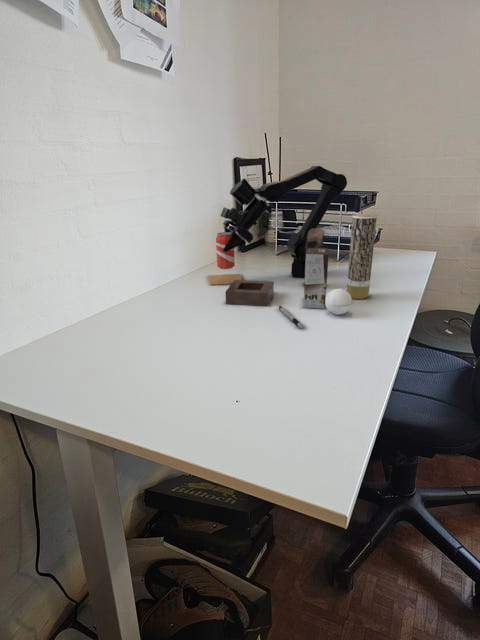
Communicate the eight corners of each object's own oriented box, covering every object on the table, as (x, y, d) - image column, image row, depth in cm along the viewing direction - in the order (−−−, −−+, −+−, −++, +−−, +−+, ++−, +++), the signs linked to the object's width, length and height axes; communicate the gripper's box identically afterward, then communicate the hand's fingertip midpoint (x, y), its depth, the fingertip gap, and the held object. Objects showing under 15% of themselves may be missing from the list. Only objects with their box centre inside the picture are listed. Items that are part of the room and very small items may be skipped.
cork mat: (239, 274, 154) (239, 273, 154) (244, 283, 143) (244, 282, 143) (208, 276, 152) (208, 275, 152) (210, 285, 141) (210, 284, 141)
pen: (282, 309, 117) (282, 305, 116) (305, 330, 102) (305, 325, 101) (278, 309, 116) (278, 305, 116) (300, 330, 102) (300, 326, 101)
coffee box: (325, 309, 116) (328, 254, 110) (302, 308, 117) (305, 253, 111) (325, 299, 124) (328, 247, 119) (304, 298, 126) (306, 247, 120)
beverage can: (237, 268, 139) (236, 233, 135) (219, 270, 138) (217, 235, 133) (232, 264, 145) (230, 231, 140) (215, 266, 143) (213, 232, 138)
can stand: (273, 293, 131) (273, 281, 130) (268, 306, 119) (268, 293, 118) (235, 291, 134) (234, 279, 132) (225, 304, 122) (225, 291, 121)
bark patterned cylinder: (368, 294, 128) (377, 214, 119) (367, 300, 122) (376, 217, 113) (347, 292, 131) (353, 213, 121) (345, 298, 125) (351, 216, 115)
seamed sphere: (324, 318, 109) (326, 292, 107) (323, 309, 116) (325, 284, 114) (362, 319, 108) (365, 293, 105) (359, 310, 115) (361, 285, 112)
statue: (325, 284, 139) (329, 226, 132) (320, 290, 133) (324, 229, 126) (306, 282, 142) (309, 225, 135) (300, 288, 136) (303, 228, 129)
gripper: (227, 196, 142) (198, 230, 143) (242, 200, 125) (210, 238, 126) (248, 217, 147) (221, 250, 148) (266, 224, 130) (235, 260, 131)
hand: (221, 249), depth 138 cm, fingers closed on beverage can, 6 cm apart
